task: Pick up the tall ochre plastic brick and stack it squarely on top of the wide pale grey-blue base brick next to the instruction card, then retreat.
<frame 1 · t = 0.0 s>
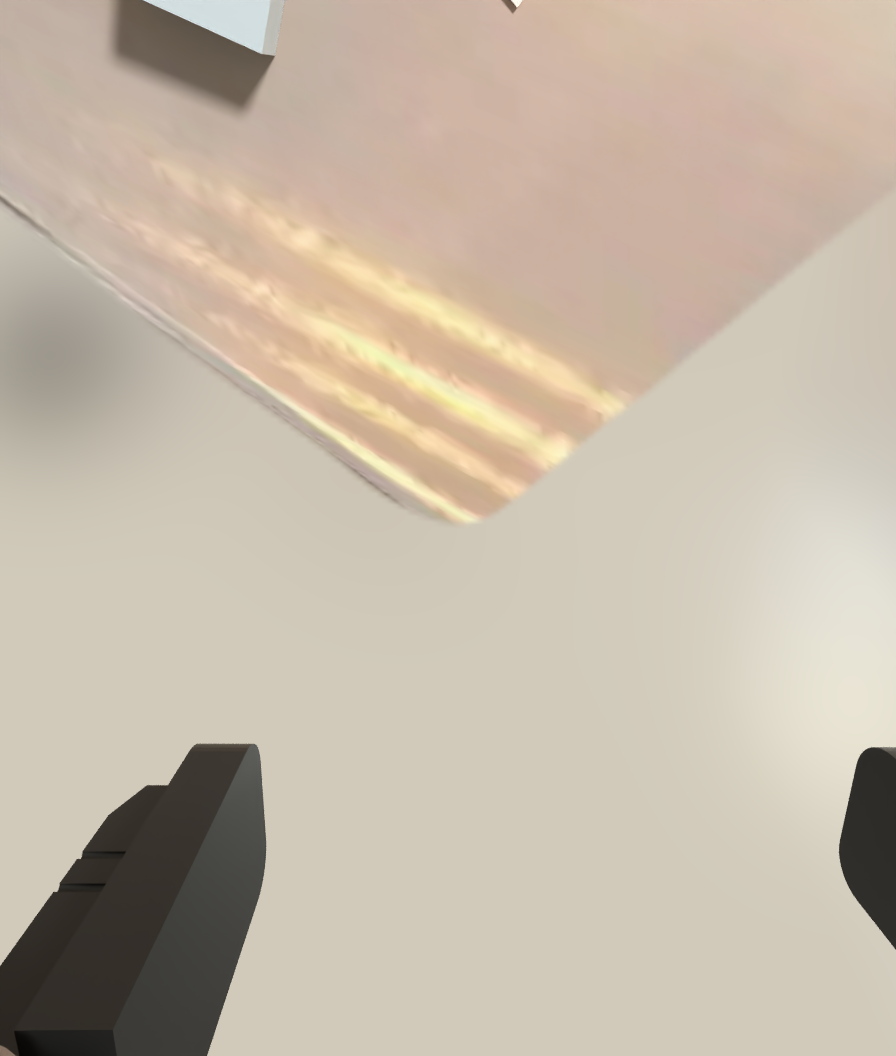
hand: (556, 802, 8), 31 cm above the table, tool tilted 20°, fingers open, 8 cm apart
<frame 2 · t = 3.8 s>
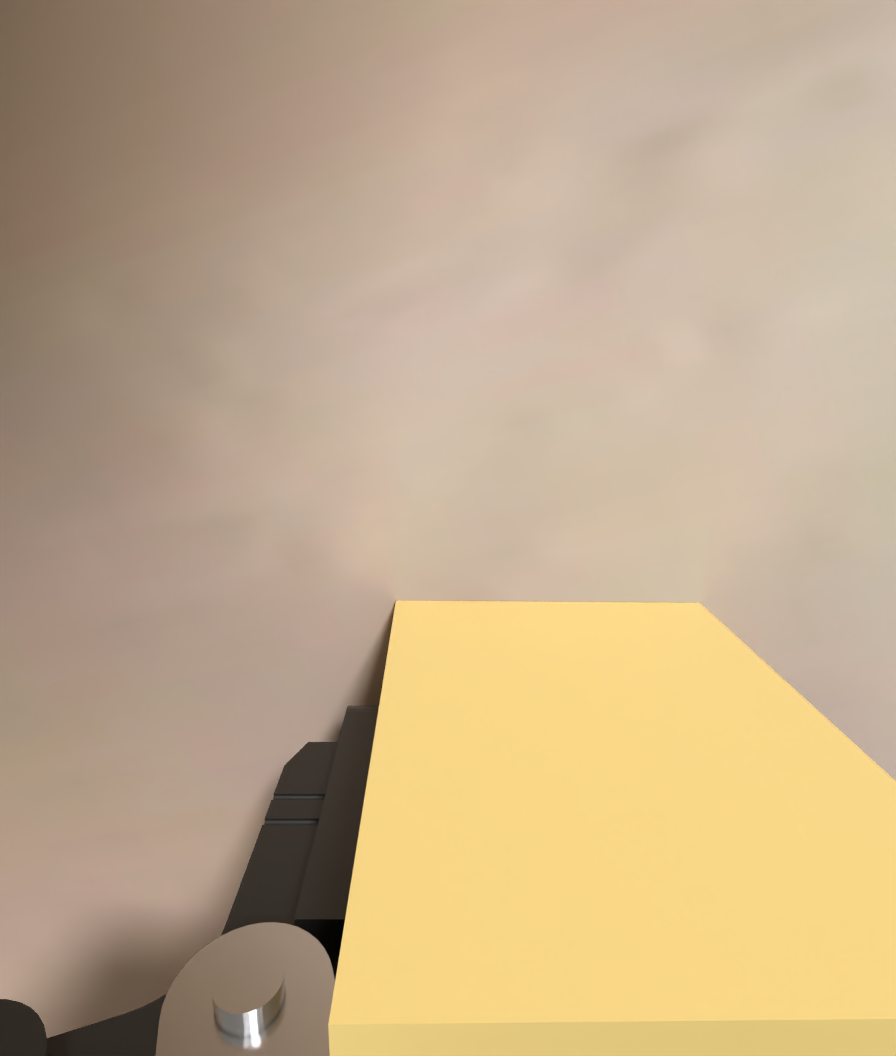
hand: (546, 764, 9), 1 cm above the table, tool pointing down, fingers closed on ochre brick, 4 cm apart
ochre brick: (540, 735, 10), on the table, touching gripper
when the fingers open (5 cm above the table, at t = 9.0 s): ochre brick drops 1 cm, resting on base brick.
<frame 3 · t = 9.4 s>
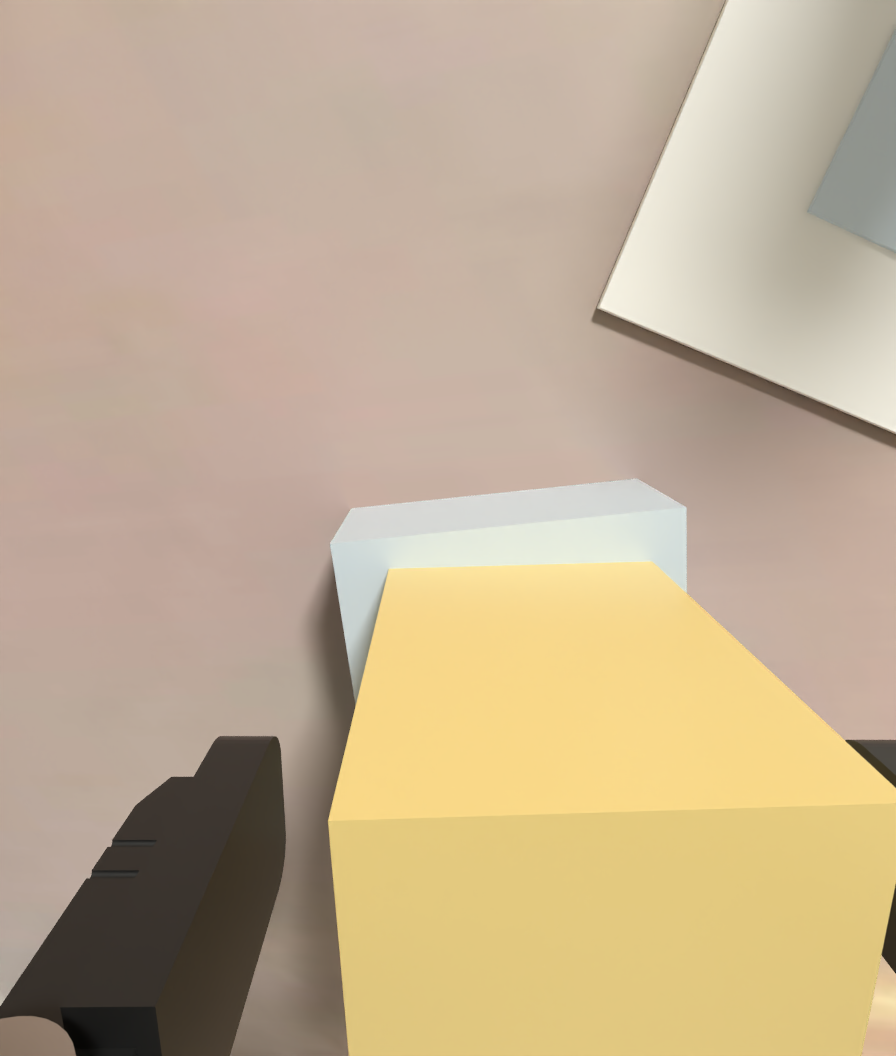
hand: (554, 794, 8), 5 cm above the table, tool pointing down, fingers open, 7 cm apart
ochre brick: (519, 683, 11), point 3 cm above the table, touching base brick
base brick: (503, 619, 14), on the table, touching ochre brick
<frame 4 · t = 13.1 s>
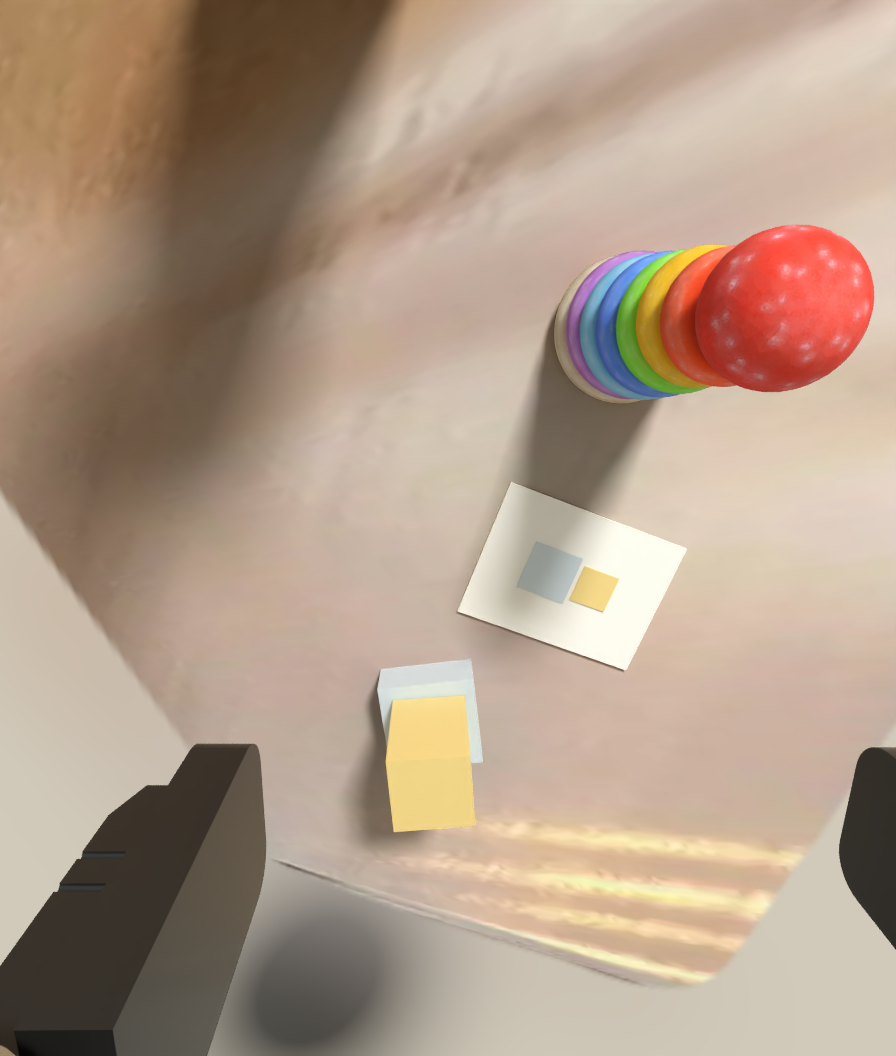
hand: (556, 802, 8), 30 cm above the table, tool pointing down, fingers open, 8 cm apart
ochre brick: (431, 729, 39), point 3 cm above the table, touching base brick
instruction page: (570, 579, 39), on the table
base brick: (431, 701, 42), on the table, touching ochre brick
stacking toy: (618, 331, 36), on the table
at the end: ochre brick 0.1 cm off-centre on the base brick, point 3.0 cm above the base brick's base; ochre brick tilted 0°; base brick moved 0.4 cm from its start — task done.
